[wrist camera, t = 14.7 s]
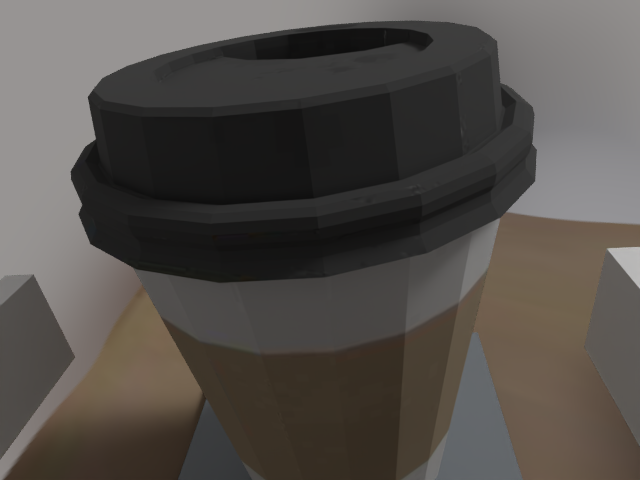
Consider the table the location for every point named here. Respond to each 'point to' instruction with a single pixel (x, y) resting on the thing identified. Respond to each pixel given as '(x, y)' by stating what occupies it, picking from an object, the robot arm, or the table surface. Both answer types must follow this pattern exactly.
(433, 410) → the coffee cup
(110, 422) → the table surface
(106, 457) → the table surface
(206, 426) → the slate mat
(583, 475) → the table surface
